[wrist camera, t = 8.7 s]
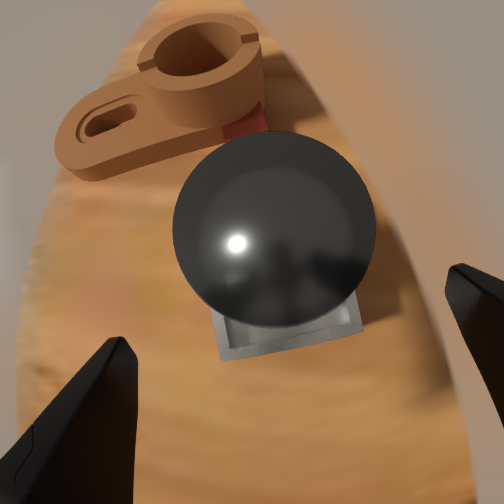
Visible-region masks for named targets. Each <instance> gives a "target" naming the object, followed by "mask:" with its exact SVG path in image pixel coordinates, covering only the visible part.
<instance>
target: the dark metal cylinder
mask: <svg viewBox="0 0 504 504" xmlns="http://www.w3.org/2000/svg"><path fill="white" fill-rule="evenodd" d="M172 232H173V244H174V248H175V253H176V257H177V260H178V262H179V265H180V268H181V270H182V272H183V274H184V276H185V278H186V280H187V282H188V283H189V285H190V286H191V287H192V289H193V290H194V291H195V293H196V294H197V295H198V296H199V297H200V298H201V299H202V300H203V301H204V302H205V303H206V304H207V305H209V306H210V307H211V308H213V309H214V310H215V311H216V312H218V313H220V314H222V315H223V316H225V317H227V318H229V319H231V320H234V321H236V322H239V323H241V324H245V325H249V326H253V327H259V328H268V329H278V328H289V327H295V326H300V325H303V324H306V323H309V322H312V321H315V320H317V319H319V318H321V317H323V316H325V315H327V314H328V313H330V312H331V311H333V310H334V309H336V308H337V307H338V306H339V305H341V304H342V303H343V302H344V301H345V300H346V299H347V298H348V297H349V296H350V295H351V294H352V293H353V291H354V290H355V289H356V288H357V286H358V285H359V283H360V282H361V280H362V279H363V277H364V275H365V273H366V271H367V269H368V266H369V264H370V261H371V258H372V254H373V250H374V243H375V237H376V221H375V213H374V208H373V204H372V201H371V197H370V195H369V193H368V190H367V188H366V186H365V184H364V182H363V181H362V179H361V177H360V175H359V174H358V173H357V172H356V170H355V169H354V168H353V166H352V165H351V164H350V163H349V162H348V161H347V160H346V159H345V158H344V157H343V156H341V155H340V154H339V153H338V152H336V151H335V150H334V149H332V148H330V147H329V146H327V145H325V144H324V143H322V142H320V141H317V140H315V139H313V138H310V137H307V136H304V135H300V134H295V133H290V132H279V131H271V132H260V133H254V134H249V135H246V136H242V137H239V138H237V139H234V140H232V141H230V142H227V143H226V144H224V145H222V146H220V147H219V148H217V149H216V150H214V151H213V152H212V153H210V154H209V155H208V156H206V157H205V158H204V159H203V160H202V161H201V162H200V163H199V164H198V165H197V166H196V168H195V169H194V170H193V171H192V173H191V174H190V175H189V177H188V179H187V180H186V182H185V183H184V185H183V187H182V190H181V192H180V194H179V196H178V200H177V203H176V206H175V211H174V216H173V229H172Z"/></svg>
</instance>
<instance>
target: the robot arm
mask: <svg viewBox="0 0 504 504" xmlns="http://www.w3.org/2000/svg"><path fill="white" fill-rule="evenodd" d="M445 296H446V299H447V300H448V303H449V305H450V308H451V310H452V312H453V315H454V317H455V319H456V322H457V324H458V326H459V329H460V331H461V334H462V336H463V338H464V340H465V342H466V344H467V347H468V348H469V351H470V353H471V355H472V357H473V359H474V361H475V363H476V365H477V367H478V369H479V370H480V373H481V375H482V377H483V380H484V382H485V384H486V386H487V388H488V390H489V393H490V395H491V398H492V400H493V402H494V405H495V407H496V409H497V412H498V414H499V417H500V419H501V422H502V425H503V427H504V281H502V280H500V279H498V278H496V277H494V276H491V275H489V274H487V273H484V272H482V271H480V270H478V269H476V268H473V267H471V266H469V265H466V264H464V263H460V264H457V265H453V266H451V267H450V269H449V271H448V276H447V281H446V286H445ZM137 419H138V359H137V356H136V354H135V353H134V351H133V350H132V348H131V347H130V345H129V344H128V342H127V341H126V339H125V338H124V337H121V336H119V337H111V338H109V339H108V340H107V341H106V342H105V343H104V344H103V345H102V346H101V347H100V348H99V349H98V350H97V351H96V353H95V354H94V355H93V356H92V357H91V358H90V359H89V360H88V361H87V362H86V363H85V365H84V366H83V367H82V368H81V369H80V370H79V371H78V372H77V373H76V374H75V376H74V377H73V378H72V379H71V380H70V381H69V382H68V383H67V384H66V386H65V387H64V388H63V389H62V390H61V391H60V392H59V393H58V395H57V396H56V397H55V398H54V399H53V400H52V401H51V403H50V404H49V405H48V406H47V407H46V408H45V409H44V411H43V412H42V413H41V414H40V415H39V416H38V418H37V419H36V420H35V421H34V422H33V424H32V425H31V426H30V427H29V428H28V429H27V431H26V432H25V433H24V434H23V435H22V436H21V438H20V439H19V440H18V441H17V442H16V443H15V445H14V446H13V447H12V448H11V449H10V450H9V451H8V452H7V453H6V454H5V455H4V456H3V457H2V458H1V459H0V504H133V486H134V462H135V445H136V431H137Z"/></svg>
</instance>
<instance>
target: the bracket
mask: <svg viewBox="0 0 504 504" xmlns="http://www.w3.org/2000/svg"><path fill="white" fill-rule="evenodd" d="M137 66H138V68H139V69H140V71H141V72H140V73H138V74H135V75H132V76H130V77H127V78H124V79H122V80H119V81H117V82H114V83H112V84H109V85H107V86H105V87H102V88H100V89H98V90H96V91H94V92H92V93H90V94H88V95H87V96H85V97H84V98H83V99H81V100H80V101H79V102H78V103H77V104H76V105H75V106H74V107H73V108H72V109H71V110H70V111H69V112H68V114H67V115H66V117H65V118H64V119H63V121H62V123H61V125H60V127H59V129H58V131H57V135H56V138H55V155H56V157H57V159H58V161H59V162H60V164H61V165H63V166H64V167H65V168H67V169H68V170H69V171H70V172H72V173H73V174H74V175H76V176H77V177H78V178H80V179H82V180H85V181H100V180H104V179H107V178H110V177H113V176H115V175H118V174H121V173H124V172H127V171H130V170H133V169H136V168H139V167H142V166H145V165H148V164H151V163H155V162H158V161H161V160H164V159H168V158H171V157H175V156H178V155H181V154H185V153H189V152H192V151H196V150H199V149H203V148H207V147H211V146H215V145H219V144H223V143H225V140H224V135H223V129H222V127H223V126H226V125H229V124H231V123H233V122H235V121H237V120H239V119H241V118H242V117H244V116H245V115H246V114H248V113H249V112H250V111H251V110H252V109H253V108H254V107H255V106H256V105H257V103H258V102H259V101H260V102H261V105H262V109H263V112H264V110H265V106H266V94H265V83H264V72H263V61H262V51H261V45H260V42H259V36H258V31H257V29H256V28H255V27H254V26H253V25H252V24H251V23H250V22H248V21H247V20H245V19H243V18H240V17H237V16H233V15H228V14H204V15H198V16H193V17H190V18H186V19H183V20H181V21H178V22H176V23H174V24H172V25H170V26H168V27H166V28H164V29H163V30H161V31H160V32H159V33H157V34H156V35H155V36H154V37H152V38H151V39H150V40H149V41H148V42H147V44H146V45H145V46H144V48H143V49H142V51H141V52H140V55H139V57H138V60H137ZM130 119H132V120H131V121H130V122H128V123H126V124H124V125H121V126H119V127H116V128H113V129H111V130H108V131H106V132H103V133H101V132H102V131H103V130H105V129H107V128H109V127H112V126H115V125H117V124H120V123H122V122H125V121H128V120H130ZM100 133H101V134H100Z"/></svg>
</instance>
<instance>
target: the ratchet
mask: <svg viewBox="0 0 504 504" xmlns="http://www.w3.org/2000/svg"><path fill="white" fill-rule="evenodd" d="M222 129H223V135H224V140H225V143H227V142H230V141H232V140H234V139H237V138H239V137H242V136H246V135H249V134H254V133H260V132H269V130H268V127H267V123H266V119H265V116H264V112H263V109H262V105H261V102H260V101H259V102H258V103H257V105H256V106H255V107H254V108H253V109H252V110H251V111H250V112H249V113H248V114H246V115H245V116H244V117H242V118H241V119H239V120H237V121H235V122H233V123H231V124H229V125H226V126H223V127H222ZM210 308H211V307H210ZM211 313H212V319H213V324H214V329H215V335H216V340H217V345H218V350H219V355H220V360H221V362H223V361H229V360H236V359H241V358H247V357H253V356H258V355H264V354H269V353H274V352H279V351H284V350H289V349H294V348H299V347H303V346H308V345H312V344H317V343H321V342H325V341H329V340H333V339H337V338H341V337H345V336H349V335H353V334H357V333H361V332H364V331H363V326H362V321H361V316H360V311H359V307H358V302H357V297H356V293H355V290H354V291H353V293H352V294H351V295H350V296H349V297H348V298H347V299H346V300H345V301H344V302H343V303H342V304H341V305H339V306H338V307H337V308H336V309H334V310H333V311H331V312H330V313H328V314H327V315H325V316H323V317H321V318H319V319H317V320H315V321H312V322H309V323H306V324H303V325H300V326H295V327H289V328H278V329H268V328H259V327H253V326H249V325H245V324H241V323H239V322H236V321H234V320H231V319H229V318H227V317H225V316H223V315H222V314H220V313H218V312H216V311H215V310H214V309H213V308H211Z"/></svg>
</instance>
